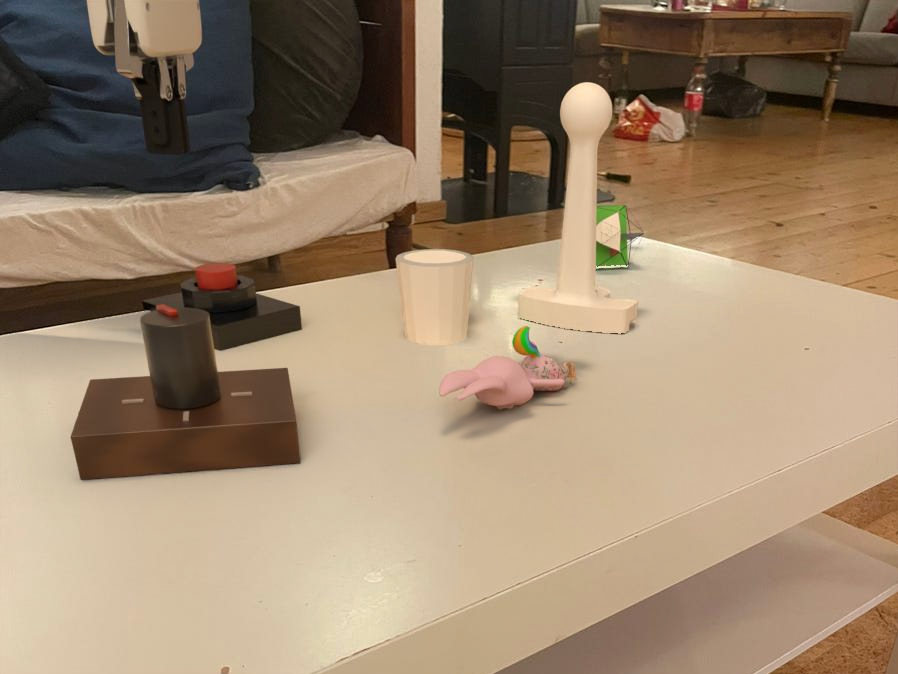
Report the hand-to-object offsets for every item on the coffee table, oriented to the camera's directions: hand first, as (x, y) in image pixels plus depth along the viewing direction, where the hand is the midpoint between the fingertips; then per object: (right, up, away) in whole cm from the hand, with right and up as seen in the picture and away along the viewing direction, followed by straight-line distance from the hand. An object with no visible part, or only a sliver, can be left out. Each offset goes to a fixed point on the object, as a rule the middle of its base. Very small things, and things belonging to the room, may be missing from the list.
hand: (169, 152), depth 83 cm
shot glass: (+22, -14, +7) cm, 27 cm away
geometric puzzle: (+41, +2, +30) cm, 51 cm away
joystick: (+36, -10, +12) cm, 39 cm away
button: (+2, -9, +7) cm, 12 cm away
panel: (+6, -27, -14) cm, 31 cm away
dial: (+6, -25, -16) cm, 30 cm away
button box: (+2, -12, +9) cm, 15 cm away
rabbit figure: (+28, -23, -8) cm, 38 cm away
